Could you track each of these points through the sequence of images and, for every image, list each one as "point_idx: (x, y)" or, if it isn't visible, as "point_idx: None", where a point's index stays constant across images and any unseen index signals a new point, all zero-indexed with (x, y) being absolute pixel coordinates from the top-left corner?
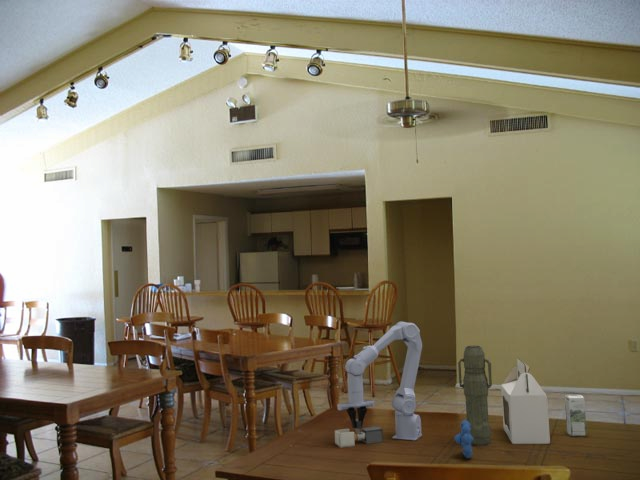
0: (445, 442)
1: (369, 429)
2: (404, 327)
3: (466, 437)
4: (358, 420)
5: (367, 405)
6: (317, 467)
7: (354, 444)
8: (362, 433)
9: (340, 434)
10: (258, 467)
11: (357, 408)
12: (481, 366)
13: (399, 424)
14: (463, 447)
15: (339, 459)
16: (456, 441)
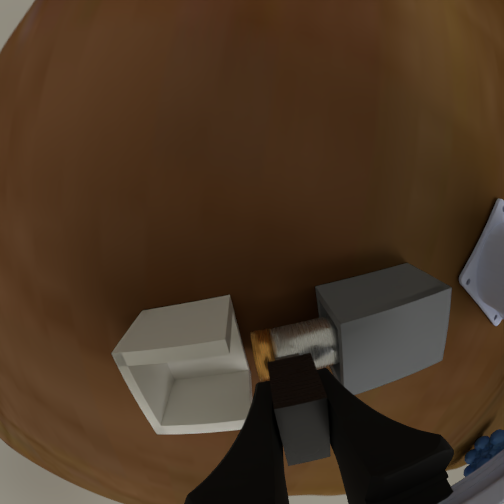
0: None
1: (377, 369)
2: None
3: None
4: (312, 449)
5: (465, 494)
6: (130, 491)
7: (250, 378)
8: (320, 366)
9: (163, 431)
10: (10, 433)
11: (368, 486)
12: None
13: None
14: (466, 475)
15: (180, 477)
16: (476, 468)
